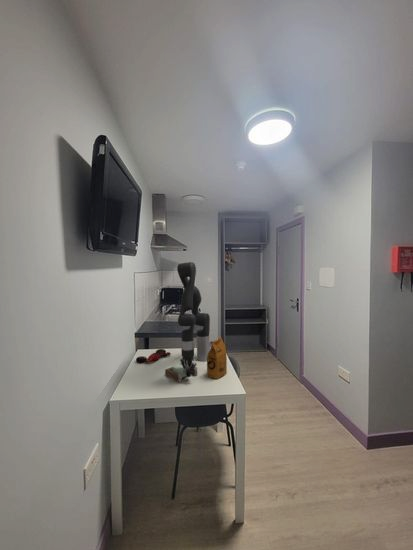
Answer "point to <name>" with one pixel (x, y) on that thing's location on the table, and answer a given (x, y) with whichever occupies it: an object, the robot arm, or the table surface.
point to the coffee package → (217, 359)
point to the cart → (179, 370)
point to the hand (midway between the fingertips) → (188, 376)
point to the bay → (178, 377)
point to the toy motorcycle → (153, 356)
